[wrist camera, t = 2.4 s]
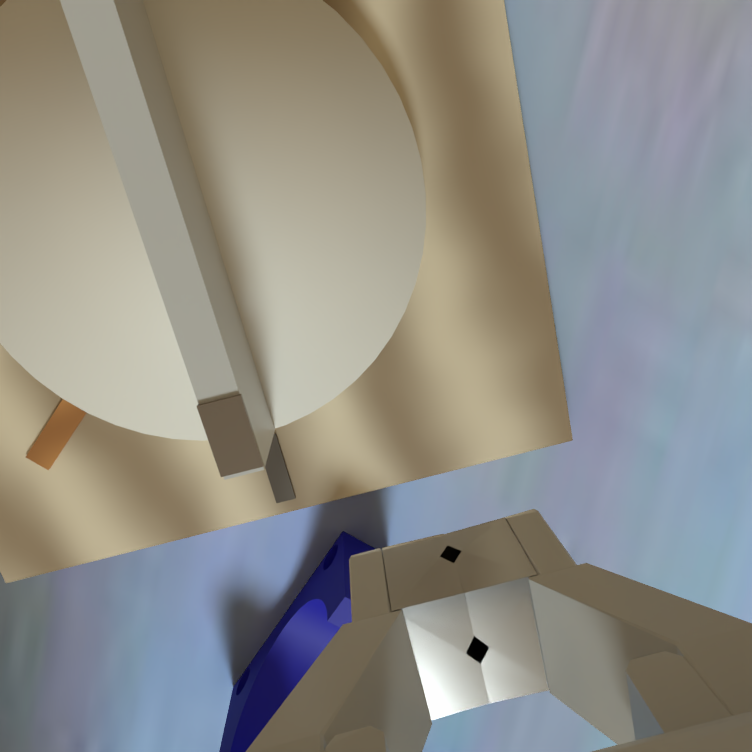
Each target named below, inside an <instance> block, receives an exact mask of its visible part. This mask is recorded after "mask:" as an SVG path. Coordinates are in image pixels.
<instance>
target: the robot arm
mask: <svg viewBox="0 0 752 752" xmlns="http://www.w3.org/2000/svg"><path fill="white" fill-rule="evenodd" d="M349 571H350V592H351V613H352V622H351V623H347V624H343V625H342V626H341V628H340V629H339V630H338V632H337V633H336V634H335V635H334V637H333V638H332V639H331V641H330V642H329V643H328V645H327V646H326V647H325V649H324V650H323V651H322V652H321V654H320V655H319V656H318V658H317V659H316V660H315V662H314V663H313V664H312V666H311V667H310V668H309V669H308V671H307V672H306V673H305V675H304V676H303V677H302V679H301V680H300V681H299V683H298V684H297V685H296V686H295V688H294V689H293V690H292V692H291V693H290V694H289V696H288V697H287V698H286V700H285V701H284V702H283V703H282V705H281V706H280V707H279V709H278V710H277V711H276V713H275V714H274V715H273V717H272V718H271V719H270V720H269V722H268V723H267V724H266V726H265V727H264V728H263V730H262V731H261V732H260V734H259V735H258V736H257V737H256V739H255V740H254V741H253V743H252V744H251V745H250V747H249V748H248V749H247V751H246V752H422V750H423V747H424V744H425V742H426V739H427V736H428V733H429V731H430V728H431V725H432V722H431V720H433V719H437V718H440V717H444V716H447V715H451V714H454V713H458V712H461V711H465V710H468V709H472V708H475V707H479V706H482V705H486V704H489V702H490V703H494V702H498V701H503V700H507V699H512V698H516V697H521V696H525V695H530V694H534V693H539V692H543V691H548V690H550V693H551V694H552V695H553V696H555V697H556V698H557V699H559V700H560V701H561V702H563V703H564V704H565V705H567V706H568V707H569V708H570V709H572V710H573V711H574V712H576V713H577V714H578V715H580V716H581V717H582V718H584V719H585V720H586V721H588V722H589V723H590V724H591V725H593V726H594V727H595V728H597V729H598V730H599V731H601V732H602V733H603V734H605V735H606V736H607V737H609V738H610V739H611V740H613V741H614V742H615V743H616V744H618V745H615V746H612V747H608V748H604V749H600V750H596V751H592V752H752V623H749V622H746V621H743V620H741V619H738V618H735V617H733V616H730V615H727V614H724V613H722V612H719V611H716V610H713V609H711V608H708V607H705V606H702V605H700V604H697V603H694V602H692V601H689V600H686V599H683V598H681V597H678V596H675V595H672V594H670V593H667V592H664V591H661V590H659V589H656V588H653V587H651V586H648V585H645V584H642V583H640V582H637V581H634V580H631V579H629V578H626V577H623V576H620V575H618V574H615V573H612V572H610V571H607V570H604V569H601V568H599V567H596V566H593V565H590V564H588V563H585V564H581V565H577V564H576V563H575V562H574V560H573V559H572V557H571V556H570V555H569V553H568V552H567V551H566V549H565V548H564V546H563V545H562V544H561V542H560V541H559V539H558V538H557V537H556V535H555V534H554V532H553V531H552V530H551V528H550V527H549V525H548V524H547V523H546V521H545V520H544V518H543V517H542V516H541V514H540V513H539V511H537V510H535V509H532V510H528V511H525V512H522V513H518V514H515V515H511V516H508V517H505V518H501V519H497V520H494V521H490V522H487V523H483V524H480V525H476V526H472V527H469V528H465V529H462V530H458V531H454V532H451V533H447V534H440V535H436V536H431V537H427V538H423V539H418V540H414V541H410V542H405V543H401V544H397V545H392V546H388V547H384V548H382V550H381V549H380V548H378V549H374V550H370V551H367V552H363V553H359V554H355V555H352V556H351V557H350V559H349Z"/></svg>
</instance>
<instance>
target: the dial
mask: <svg viewBox="0 0 752 752" xmlns="http://www.w3.org/2000/svg"><path fill="white" fill-rule="evenodd" d="M425 229H426V192H425V185H424V178H423V170H422V163H421V158H420V154H419V151H418V147H417V143H416V140H415V136H414V132H413V128H412V126H411V123H410V121H409V118H408V116H407V114H406V111H405V109H404V106H403V104H402V101H401V99H400V96H399V95H398V93H397V91H396V89H395V87H394V86H393V84H392V82H391V80H390V79H389V77H388V75H387V73H386V71H385V70H384V68H383V66H382V65H381V63H380V62H379V61H378V59H377V58H376V57H375V55H374V54H373V53H372V51H371V50H370V48H369V47H368V46H367V44H366V43H365V42H364V40H363V39H362V38H361V37H360V36H359V34H358V33H357V32H356V31H355V30H354V29H353V28H352V27H351V26H350V25H349V24H348V23H347V22H346V21H345V20H344V19H343V18H342V17H341V16H340V15H339V14H338V12H336V11H335V10H334V9H333V8H332V7H330V6H329V5H328V4H327V3H325V2H324V1H323V0H6V1H5V2H4V4H3V5H2V6H1V7H0V343H1V345H2V346H3V347H4V348H5V349H6V351H7V352H8V353H9V354H10V355H11V356H12V357H13V358H14V359H15V360H16V361H17V362H18V363H19V364H20V365H21V366H22V367H23V368H24V369H25V370H26V371H28V372H29V373H30V374H31V375H32V376H33V377H34V378H35V379H36V380H38V381H39V382H40V383H42V384H43V385H44V386H46V387H47V388H48V389H50V390H51V391H52V392H54V393H55V394H57V395H58V396H59V397H61V398H62V399H64V400H66V401H67V402H69V403H71V404H73V405H74V406H76V407H78V408H80V409H81V410H83V411H85V412H87V413H89V414H91V415H93V416H95V417H98V418H100V419H102V420H105V421H107V422H109V423H112V424H114V425H117V426H120V427H123V428H126V429H130V430H133V431H136V432H140V433H143V434H148V435H153V436H159V437H165V438H170V439H181V440H198V441H206V440H208V441H209V444H210V447H211V450H212V453H213V456H214V459H215V462H216V464H217V467H218V470H219V473H220V476H221V477H224V480H226V479H230V478H234V477H238V476H242V475H246V474H250V473H254V472H258V471H262V470H264V468H265V465H266V461H267V457H268V454H269V450H270V446H271V443H272V439H273V435H274V432H275V428H278V427H281V426H284V425H287V424H289V423H291V422H293V421H295V420H298V419H300V418H302V417H304V416H306V415H308V414H310V413H312V412H314V411H315V410H317V409H318V408H320V407H322V406H323V405H325V404H326V403H328V402H330V401H331V400H333V399H334V398H335V397H337V396H338V395H339V394H340V393H341V392H343V391H344V390H345V389H346V388H348V387H349V386H350V385H351V384H352V383H354V382H355V381H356V380H357V379H358V378H359V377H360V376H361V374H362V373H363V372H364V371H365V370H366V369H367V368H368V367H369V366H370V365H371V364H372V363H373V362H374V361H375V359H376V358H377V356H378V355H379V354H380V352H381V351H382V349H383V348H384V347H385V345H386V344H387V342H388V341H389V340H390V338H391V337H392V335H393V333H394V331H395V329H396V328H397V326H398V324H399V322H400V320H401V318H402V316H403V314H404V313H405V310H406V308H407V305H408V303H409V300H410V297H411V295H412V292H413V289H414V287H415V284H416V280H417V276H418V272H419V268H420V264H421V259H422V255H423V247H424V238H425Z"/></svg>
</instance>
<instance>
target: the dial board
mask: <svg viewBox="0 0 752 752" xmlns="http://www.w3.org/2000/svg"><path fill="white" fill-rule="evenodd" d="M5 1H6V0H0V7H1V6H2V5H3V4H4V2H5ZM323 1H324V2H325V3H327V4H328V5H329V6H330V7H332V8H333V9H334V10H335V11H336V12H338V14H339V15H340V16H341V17H342V18H343V19H344V20H345V21H346V22H347V23H348V24H349V25H350V26H351V27H352V28H353V29H354V30H355V31H356V32H357V33H358V34H359V36H360V37H361V38H362V39H363V40H364V42H365V43H366V44H367V46H368V47H369V48H370V50H371V51H372V53H373V54H374V55H375V57H376V58H377V59H378V61H379V62H380V63H381V65H382V66H383V68H384V70H385V71H386V73H387V75H388V77H389V79H390V80H391V82H392V84H393V86H394V87H395V89H396V91H397V93H398V95H399V96H400V99H401V101H402V104H403V106H404V109H405V111H406V114H407V116H408V118H409V121H410V123H411V126H412V128H413V132H414V136H415V140H416V143H417V147H418V151H419V154H420V158H421V163H422V170H423V178H424V185H425V192H426V229H425V238H424V247H423V255H422V259H421V264H420V268H419V272H418V276H417V280H416V284H415V287H414V289H413V292H412V295H411V297H410V300H409V303H408V305H407V308H406V310H405V313H404V314H403V316H402V318H401V320H400V322H399V324H398V326H397V328H396V329H395V331H394V333H393V335H392V337H391V338H390V340H389V341H388V342H387V344H386V345H385V347H384V348H383V349H382V351H381V352H380V354H379V355H378V356H377V358H376V359H375V361H374V362H373V363H372V364H371V365H370V366H369V367H368V368H367V369H366V370H365V371H364V372H363V373H362V374H361V376H360V377H359V378H358V379H357V380H356V381H355V382H354V383H352V384H351V385H350V386H349V387H348V388H346V389H345V390H344V391H343V392H341V393H340V394H339V395H338V396H337V397H335V398H334V399H333V400H331V401H330V402H328V403H326V404H325V405H323V406H322V407H320V408H318V409H317V410H315V411H314V412H312V413H310V414H308V415H306V416H304V417H302V418H300V419H298V420H295V421H293V422H291V423H289V424H287V425H284V426H281V427H278V428H275V432H274V435H273V439H272V443H271V446H270V450H269V454H268V457H267V461H266V465H265V468H264V470H262V471H258V472H254V473H250V474H246V475H242V476H238V477H234V478H230V479H226V480H224V477H221V476H220V473H219V470H218V467H217V464H216V462H215V459H214V456H213V453H212V450H211V447H210V444H209V441H208V440H206V441H198V440H181V439H170V438H165V437H159V436H153V435H148V434H143V433H140V432H136V431H133V430H130V429H126V428H123V427H120V426H117V425H114V424H112V423H109V422H107V421H105V420H102V419H100V418H98V417H95V416H93V415H91V414H89V413H87V412H85V411H83V410H81V409H80V408H78V407H76V406H74V405H73V404H71V403H69V402H67V401H66V400H64V399H62V398H61V397H59V396H58V395H57V394H55V393H54V392H52V391H51V390H50V389H48V388H47V387H46V386H44V385H43V384H42V383H40V382H39V381H38V380H36V379H35V378H34V377H33V376H32V375H31V374H30V373H29V372H28V371H26V370H25V369H24V368H23V367H22V366H21V365H20V364H19V363H18V362H17V361H16V360H15V359H14V358H13V357H12V356H11V355H10V354H9V353H8V352H7V351H6V349H5V348H4V347H3V346H2V345H1V343H0V572H1V574H2V576H3V578H4V580H5V582H6V583H9V582H13V581H17V580H21V579H24V578H28V577H32V576H36V575H40V574H44V573H48V572H52V571H56V570H60V569H64V568H68V567H72V566H76V565H80V564H84V563H88V562H92V561H96V560H100V559H104V558H108V557H112V556H116V555H120V554H124V553H128V552H132V551H136V550H140V549H144V548H147V547H151V546H155V545H159V544H163V543H167V542H171V541H175V540H179V539H183V538H187V537H191V536H195V535H199V534H203V533H207V532H211V531H215V530H219V529H223V528H227V527H231V526H235V525H239V524H243V523H247V522H251V521H255V520H259V519H263V518H266V517H270V516H274V515H278V514H282V513H286V512H290V511H294V510H298V509H302V508H306V507H310V506H314V505H318V504H322V503H326V502H330V501H334V500H338V499H342V498H346V497H350V496H354V495H358V494H362V493H366V492H370V491H374V490H378V489H382V488H386V487H389V486H393V485H397V484H401V483H405V482H409V481H413V480H417V479H421V478H425V477H429V476H433V475H437V474H441V473H445V472H449V471H453V470H457V469H461V468H465V467H469V466H473V465H477V464H481V463H485V462H489V461H493V460H497V459H501V458H505V457H509V456H512V455H516V454H520V453H524V452H528V451H532V450H536V449H540V448H544V447H548V446H552V445H556V444H560V443H564V442H568V441H572V440H573V439H572V433H571V427H570V420H569V414H568V407H567V401H566V395H565V388H564V382H563V375H562V369H561V363H560V356H559V350H558V344H557V337H556V331H555V324H554V318H553V312H552V305H551V299H550V292H549V286H548V280H547V273H546V267H545V261H544V254H543V248H542V241H541V235H540V229H539V222H538V216H537V209H536V203H535V197H534V190H533V184H532V178H531V171H530V165H529V158H528V152H527V146H526V139H525V133H524V126H523V120H522V114H521V107H520V101H519V94H518V88H517V82H516V75H515V69H514V63H513V56H512V50H511V43H510V37H509V31H508V24H507V18H506V11H505V5H504V0H323Z"/></svg>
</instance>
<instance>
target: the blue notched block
mask: <svg viewBox="0 0 752 752" xmlns="http://www.w3.org/2000/svg"><path fill="white" fill-rule="evenodd" d="M374 549H375V548H373V547H371V546H369V545H367V544H366V543H364V542H362V541H360V540H358V539H357V538H355V537H353V536H351V535H349V534H347V533H346V532H344V531H343V532H342V533H341V535H340V536H339V538H338V539H337V540H336V542H335V543H334V545H333V546H332V548H331V549H330V550H329V552H328V553H327V555H326V556H325V558H324V559H323V560H322V562H321V563H320V565H319V566H318V567H317V569H316V570H315V572H314V573H313V575H312V576H311V577H310V579H309V580H308V582H307V583H306V585H305V586H304V587H303V589H302V590H301V592H300V593H299V594H298V596H297V597H296V599H295V600H294V602H293V603H292V604H291V606H290V607H289V609H288V610H287V612H286V613H285V614H284V616H283V617H282V619H281V620H280V622H279V623H278V624H277V626H276V627H275V629H274V630H273V631H272V633H271V634H270V636H269V637H268V639H267V640H266V641H265V643H264V644H263V646H262V647H261V649H260V650H259V651H258V653H257V654H256V656H255V657H254V658H253V660H252V661H251V663H250V664H249V666H248V667H247V668H246V670H245V671H244V673H243V674H242V676H241V677H240V678H239V680H238V681H237V683H236V684H235V686H234V687H233V691H232V696H231V700H230V705H229V710H228V714H227V719H226V724H225V728H224V733H223V738H222V742H221V747H220V752H246V751H247V749H248V748H249V747H250V745H251V744H252V743H253V741H254V740H255V739H256V737H257V736H258V735H259V734H260V732H261V731H262V730H263V728H264V727H265V726H266V724H267V723H268V722H269V720H270V719H271V718H272V717H273V715H274V714H275V713H276V711H277V710H278V709H279V707H280V706H281V705H282V703H283V702H284V701H285V700H286V698H287V697H288V696H289V694H290V693H291V692H292V690H293V689H294V688H295V686H296V685H297V684H298V683H299V681H300V680H301V679H302V677H303V676H304V675H305V673H306V672H307V671H308V669H309V668H310V667H311V666H312V664H313V663H314V662H315V660H316V659H317V658H318V656H319V655H320V654H321V652H322V651H323V650H324V649H325V647H326V646H327V645H328V643H329V642H330V641H331V639H332V638H333V637H334V635H335V634H336V633H337V632H338V630H339V629H340V628H341V626H342V625H343V624H347V623H351V622H352V613H351V592H350V571H349V559H350V557H351V556H352V555H355V554H359V553H363V552H367V551H370V550H374Z"/></svg>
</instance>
